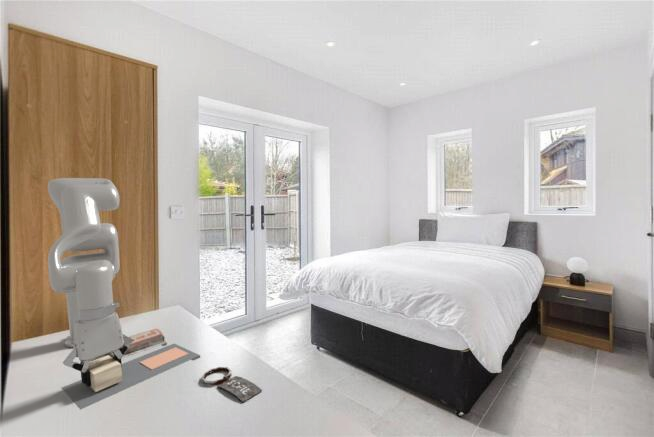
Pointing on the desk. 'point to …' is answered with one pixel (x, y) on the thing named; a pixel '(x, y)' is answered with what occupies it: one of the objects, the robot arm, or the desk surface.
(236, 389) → the keychain
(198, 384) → the desk surface
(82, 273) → the robot arm
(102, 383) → the birch tile
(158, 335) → the packaged product
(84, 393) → the mat
